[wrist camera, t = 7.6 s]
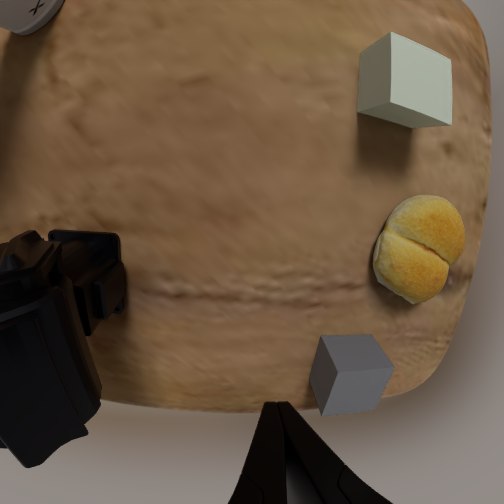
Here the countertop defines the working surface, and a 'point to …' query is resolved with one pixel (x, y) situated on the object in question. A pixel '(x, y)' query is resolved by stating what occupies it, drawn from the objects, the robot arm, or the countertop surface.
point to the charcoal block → (349, 374)
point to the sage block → (405, 83)
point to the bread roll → (418, 247)
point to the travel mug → (27, 14)
